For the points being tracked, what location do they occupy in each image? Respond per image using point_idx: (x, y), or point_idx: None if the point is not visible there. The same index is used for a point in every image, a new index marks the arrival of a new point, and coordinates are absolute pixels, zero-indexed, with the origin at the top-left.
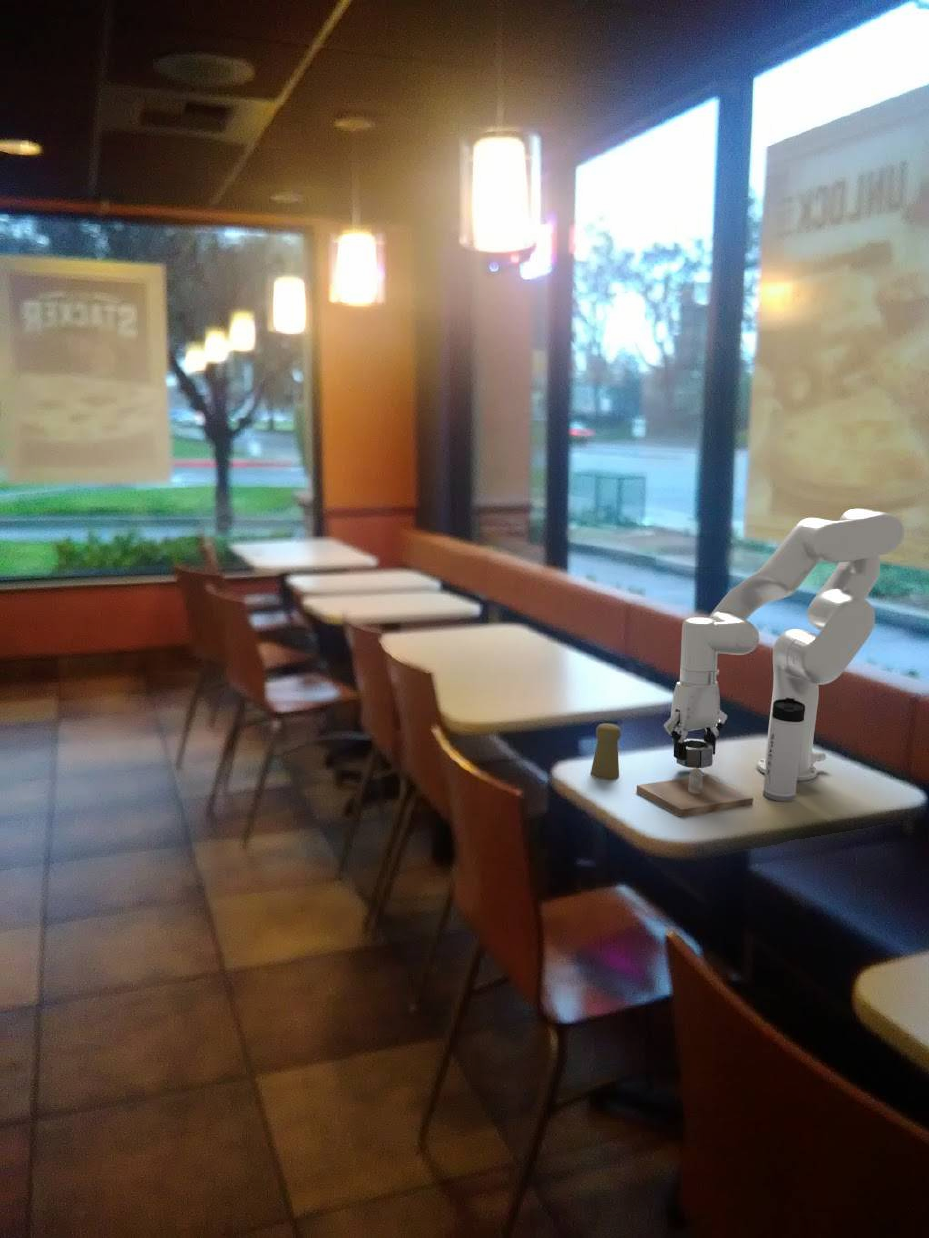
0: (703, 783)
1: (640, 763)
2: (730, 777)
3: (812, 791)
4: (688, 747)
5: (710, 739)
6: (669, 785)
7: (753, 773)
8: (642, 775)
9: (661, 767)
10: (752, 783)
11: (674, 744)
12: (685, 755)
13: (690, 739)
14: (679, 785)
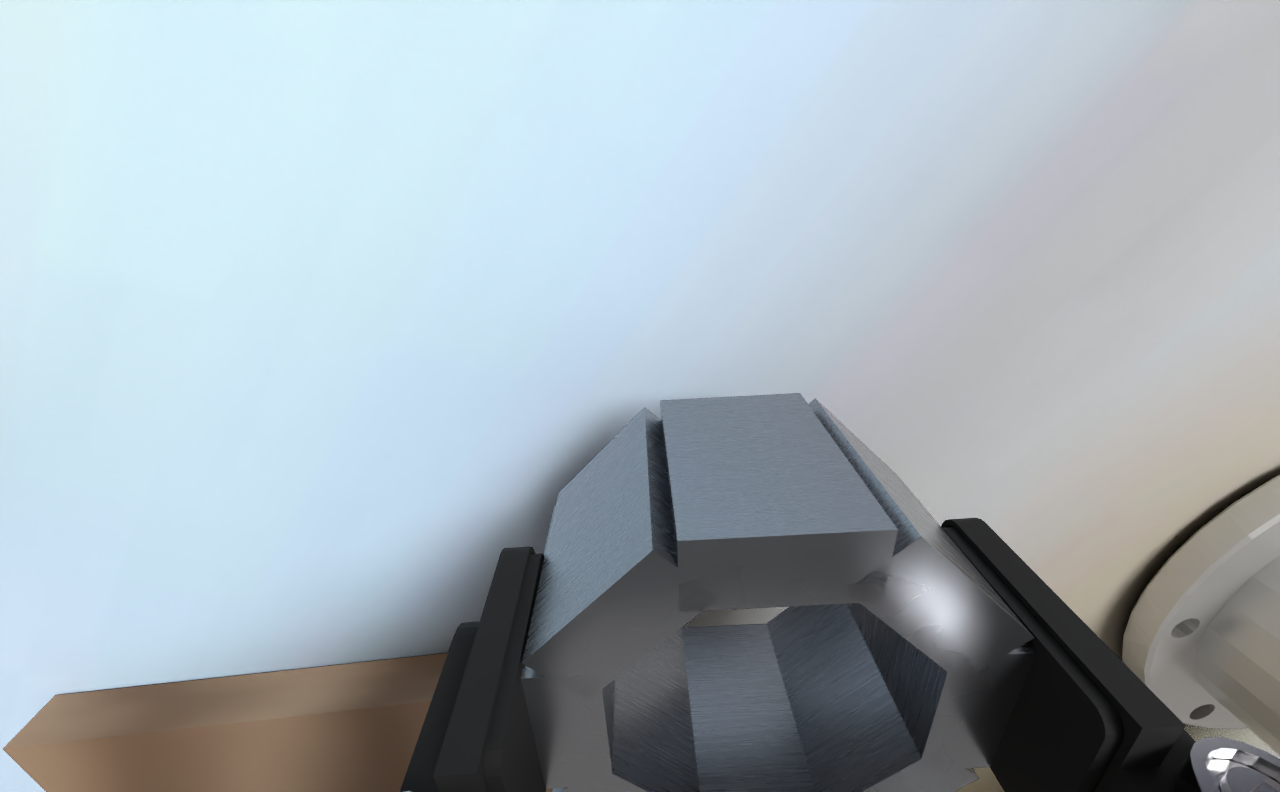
0: None
1: (306, 111)
2: None
3: None
4: (605, 771)
5: (1030, 783)
6: (278, 772)
7: (1093, 567)
8: (207, 442)
9: (499, 301)
10: None
11: (416, 758)
12: None
13: (880, 571)
14: (354, 777)
